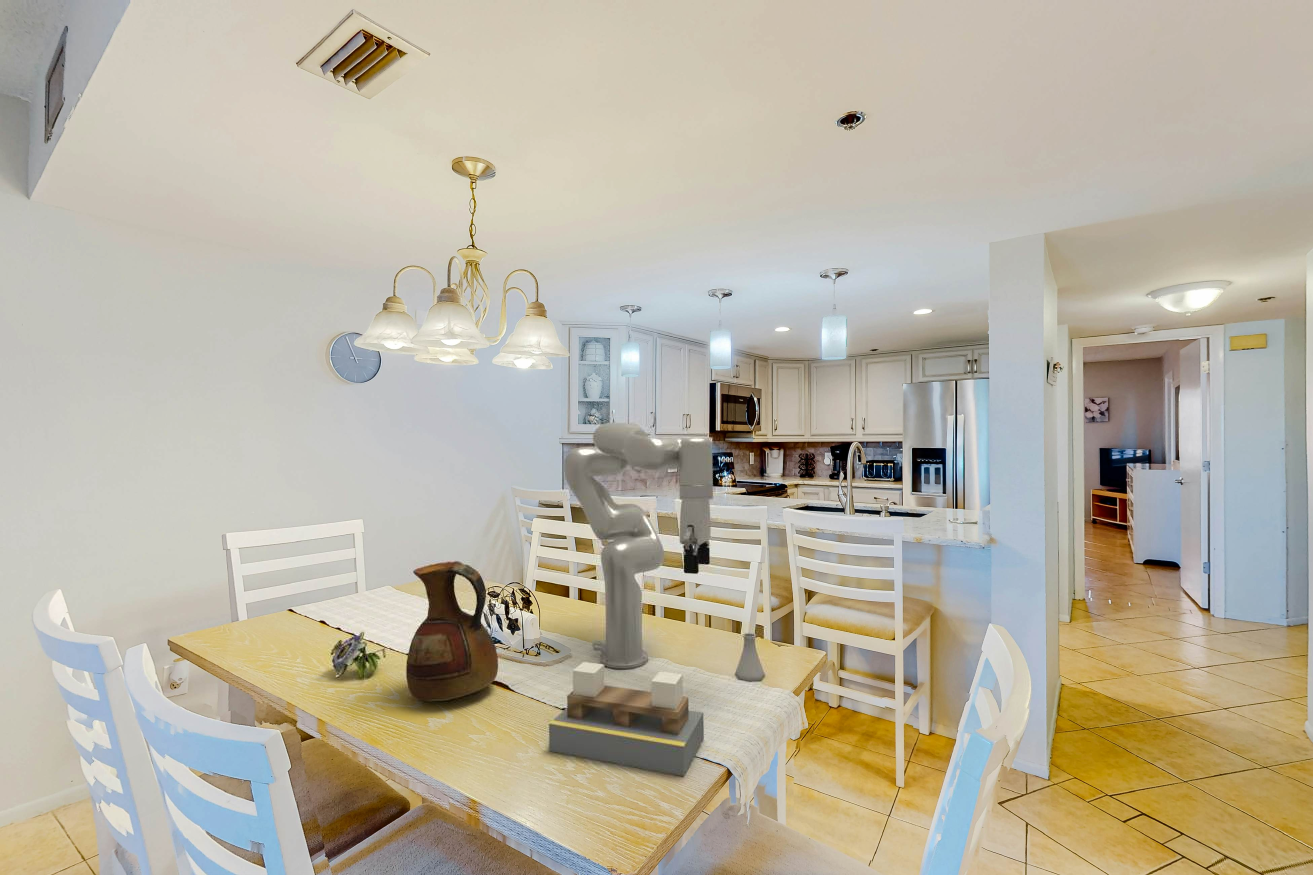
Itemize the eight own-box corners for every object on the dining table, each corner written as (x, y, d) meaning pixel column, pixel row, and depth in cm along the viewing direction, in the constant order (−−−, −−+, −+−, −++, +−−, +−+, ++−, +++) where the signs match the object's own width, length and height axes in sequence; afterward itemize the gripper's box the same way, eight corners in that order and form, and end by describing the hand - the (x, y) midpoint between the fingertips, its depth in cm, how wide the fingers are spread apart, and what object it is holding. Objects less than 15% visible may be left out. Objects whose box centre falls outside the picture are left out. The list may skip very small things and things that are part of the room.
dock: (549, 750, 106) (549, 723, 106) (581, 718, 119) (581, 694, 119) (684, 776, 98) (683, 746, 98) (703, 738, 110) (703, 712, 110)
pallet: (567, 716, 109) (567, 695, 109) (582, 702, 115) (582, 682, 115) (678, 735, 102) (678, 712, 102) (688, 718, 108) (688, 696, 108)
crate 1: (573, 694, 110) (572, 670, 110) (583, 684, 114) (583, 661, 114) (594, 697, 108) (594, 673, 108) (604, 687, 112) (604, 664, 112)
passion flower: (339, 698, 142) (319, 655, 145) (382, 676, 151) (362, 636, 153) (351, 683, 136) (330, 639, 138) (395, 661, 144) (374, 619, 147)
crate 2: (651, 705, 104) (651, 680, 104) (660, 695, 109) (659, 671, 109) (675, 709, 103) (675, 683, 103) (682, 698, 107) (682, 674, 107)
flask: (765, 683, 135) (764, 640, 135) (734, 680, 137) (733, 638, 137) (765, 671, 142) (764, 630, 143) (735, 669, 144) (735, 628, 144)
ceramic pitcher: (428, 675, 142) (427, 554, 143) (509, 675, 142) (507, 553, 142) (389, 712, 123) (388, 571, 123) (482, 712, 122) (481, 571, 123)
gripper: (690, 489, 139) (691, 560, 139) (668, 495, 123) (669, 575, 123) (721, 489, 137) (722, 561, 137) (702, 496, 121) (703, 578, 120)
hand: (697, 568), depth 130 cm, fingers open, 9 cm apart
